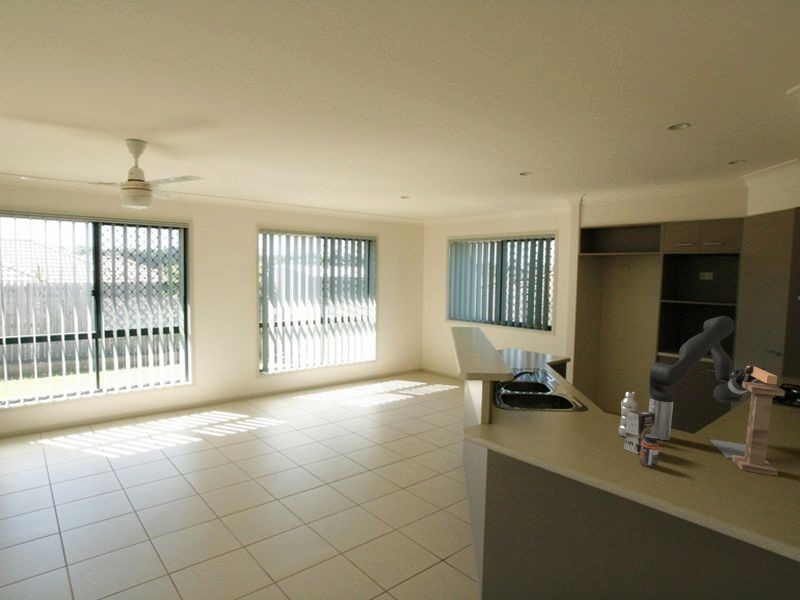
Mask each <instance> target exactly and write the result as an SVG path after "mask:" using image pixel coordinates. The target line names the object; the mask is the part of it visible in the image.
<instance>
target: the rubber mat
mask: <svg viewBox="0 0 800 600" xmlns="http://www.w3.org/2000/svg"><path fill="white" fill-rule="evenodd" d="M710 441H711V442H712V443H713V444H714V446H715V447H716V448H717V449H718V450H719V451H720V453H721V454H723V456H724V457H725V458H726V459H729V460H732V456H733V455H738V456H744V457H745V448H746V443H745V444H743V443H739V442H738V443H737V442H731V441H723V440H717V439H710Z"/></svg>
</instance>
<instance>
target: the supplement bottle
mask: <svg viewBox="0 0 800 600" xmlns="http://www.w3.org/2000/svg"><path fill="white" fill-rule="evenodd" d="M659 452H660V443H659V442H658V440H657V437H656V436H654V435H651V434H646V435H645V439H644V440H642V443H641V453H640V454H639V463H640V465H641V466H643V467H647V468H650V469H651V468H652V469H653V468H657V467H658V463H659V462H658V461H659Z"/></svg>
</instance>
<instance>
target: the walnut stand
mask: <svg viewBox="0 0 800 600" xmlns="http://www.w3.org/2000/svg"><path fill="white" fill-rule="evenodd" d="M742 387H744V388H745V389H747V390H748V392H750V393H751V396H750V404H749V405H750V406H749V415H748V420H747V430H746V432H747V433H746V440H745V441H746V442H745V445H746V448H745V457H744V456H738V455H733V456H732V459H731V460H732V461H733V462H734V464H736V465H737V467H738V468H739V469H741V470H742V471H744V472H750V473H751V472H752V473H757V474H763V475H769V476H774V475H775V476H774V477H778V473H779V471H778V469H776V468H775V467H774V466H773V465H772V464H771V463H770V462H768V461H767V459H766V457H767V452H768V451H767V450H768V441H769V433H770V432H769V431H770V425H771V414H772V408H773V406H772V405H773V398H774V396H778V397H779V396H780V397H785V392H786V390H784V389H782V388H780V387H777V386H776V385H775V384H769V383H759V382H756V383H750V382H743V383H742Z"/></svg>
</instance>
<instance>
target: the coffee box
mask: <svg viewBox="0 0 800 600" xmlns="http://www.w3.org/2000/svg"><path fill="white" fill-rule="evenodd" d="M648 411H649V410H645V409H637V410H634V411H628V417H627V426H626V436H625V437H624V447H623V449H624V450H626V451H629V452H630V453H633V454H635V455H640V453H641V443H642V440H644V439H645V435H646V434H651V435H653V431H654V421H655V413H652V412H648Z"/></svg>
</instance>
